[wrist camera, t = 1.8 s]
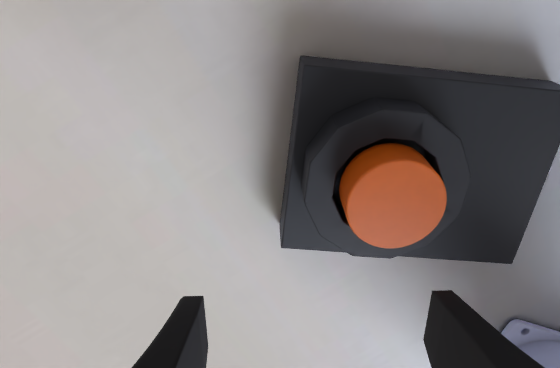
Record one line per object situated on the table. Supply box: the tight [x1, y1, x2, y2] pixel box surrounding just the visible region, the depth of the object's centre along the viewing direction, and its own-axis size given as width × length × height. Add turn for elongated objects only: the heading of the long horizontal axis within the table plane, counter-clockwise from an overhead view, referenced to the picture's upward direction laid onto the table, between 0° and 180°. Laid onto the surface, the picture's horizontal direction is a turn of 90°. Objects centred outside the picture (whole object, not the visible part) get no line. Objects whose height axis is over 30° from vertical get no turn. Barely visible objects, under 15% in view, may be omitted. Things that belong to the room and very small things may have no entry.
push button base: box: [280, 56, 560, 264], centre depth 21 cm, size 12×9×4 cm
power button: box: [339, 143, 447, 248], centre depth 18 cm, size 4×4×2 cm
